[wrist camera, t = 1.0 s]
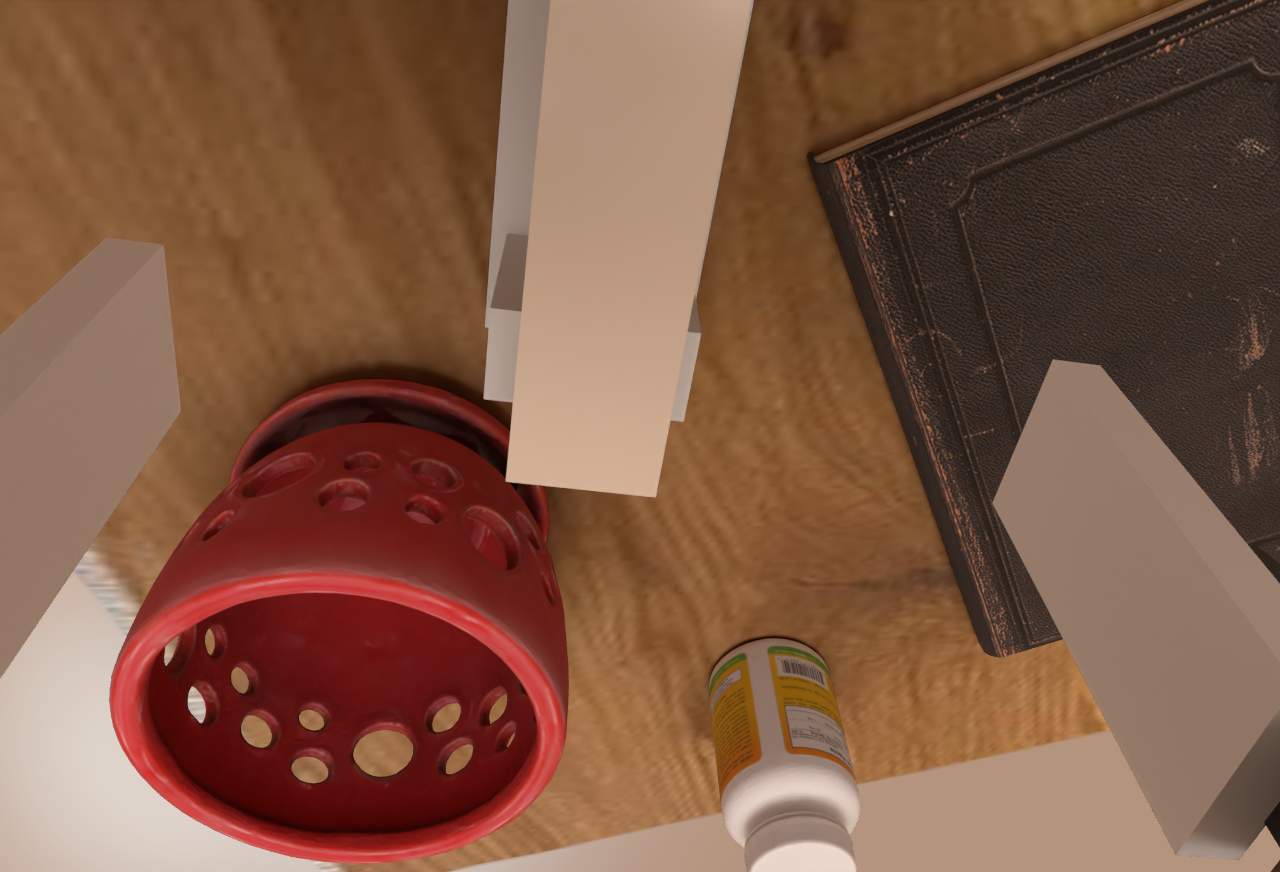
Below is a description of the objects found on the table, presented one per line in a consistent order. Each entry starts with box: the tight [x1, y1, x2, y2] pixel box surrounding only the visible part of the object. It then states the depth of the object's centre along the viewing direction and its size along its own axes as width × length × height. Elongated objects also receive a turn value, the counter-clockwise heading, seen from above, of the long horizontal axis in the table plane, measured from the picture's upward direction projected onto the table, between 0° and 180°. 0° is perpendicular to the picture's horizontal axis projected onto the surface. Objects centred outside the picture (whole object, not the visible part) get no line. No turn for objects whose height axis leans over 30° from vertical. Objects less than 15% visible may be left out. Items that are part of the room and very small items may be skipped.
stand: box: [484, 0, 754, 422], centre depth 28 cm, size 18×7×6 cm, turn 172°
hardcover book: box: [807, 0, 1280, 657], centre depth 36 cm, size 16×23×2 cm
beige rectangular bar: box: [506, 0, 751, 497], centre depth 24 cm, size 17×4×4 cm, turn 172°
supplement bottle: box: [709, 638, 860, 872], centre depth 41 cm, size 5×5×10 cm
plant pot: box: [109, 379, 569, 864], centre depth 35 cm, size 13×13×12 cm
